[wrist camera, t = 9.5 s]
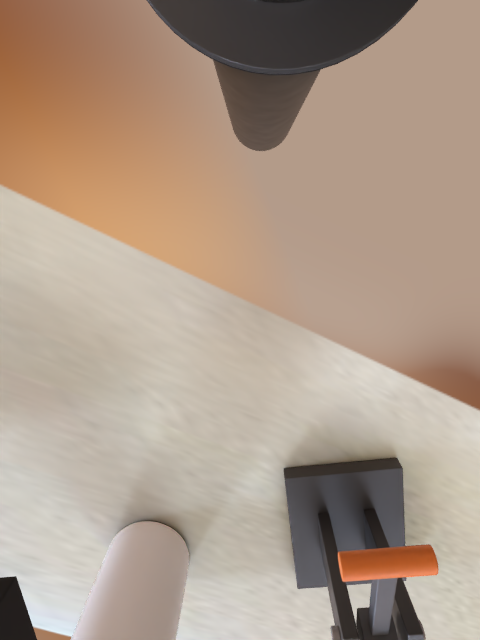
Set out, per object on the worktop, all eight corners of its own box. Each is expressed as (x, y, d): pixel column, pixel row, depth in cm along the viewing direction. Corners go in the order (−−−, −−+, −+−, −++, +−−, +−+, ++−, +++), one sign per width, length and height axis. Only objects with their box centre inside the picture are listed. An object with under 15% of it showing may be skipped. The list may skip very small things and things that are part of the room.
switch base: (283, 468, 38) (297, 594, 26) (397, 457, 38) (466, 581, 25) (296, 575, 42) (313, 733, 29) (401, 567, 41) (464, 725, 29)
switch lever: (335, 538, 24) (345, 583, 22) (426, 530, 24) (444, 576, 22) (336, 625, 31) (343, 667, 29) (406, 621, 31) (418, 662, 29)
